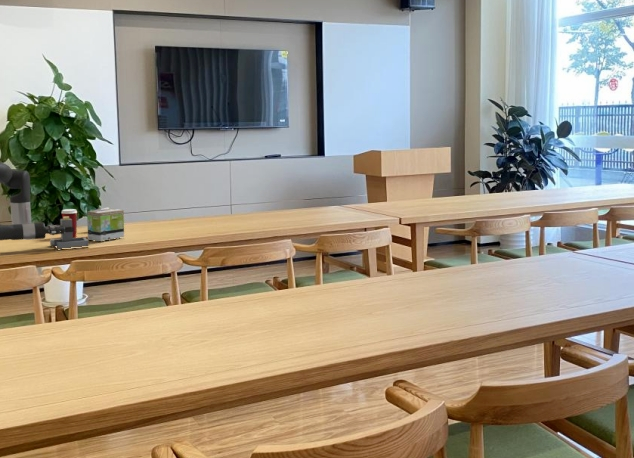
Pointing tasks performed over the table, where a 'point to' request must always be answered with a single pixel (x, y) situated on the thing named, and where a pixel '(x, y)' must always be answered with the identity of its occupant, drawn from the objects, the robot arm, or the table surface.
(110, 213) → the tea box
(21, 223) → the robot arm
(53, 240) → the cable clip
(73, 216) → the paper cup
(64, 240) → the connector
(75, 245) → the end holder
